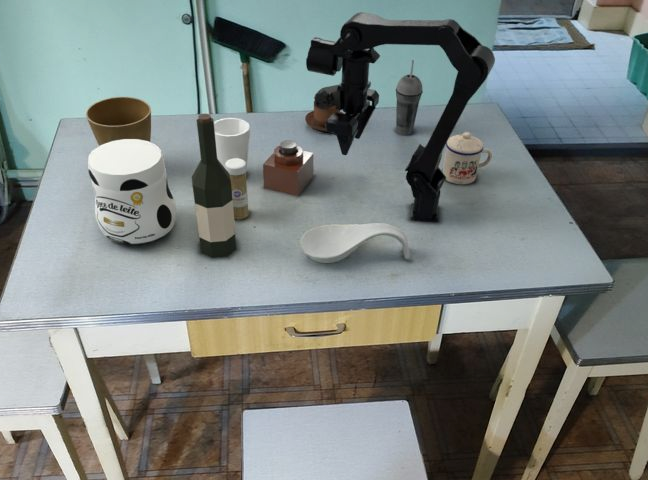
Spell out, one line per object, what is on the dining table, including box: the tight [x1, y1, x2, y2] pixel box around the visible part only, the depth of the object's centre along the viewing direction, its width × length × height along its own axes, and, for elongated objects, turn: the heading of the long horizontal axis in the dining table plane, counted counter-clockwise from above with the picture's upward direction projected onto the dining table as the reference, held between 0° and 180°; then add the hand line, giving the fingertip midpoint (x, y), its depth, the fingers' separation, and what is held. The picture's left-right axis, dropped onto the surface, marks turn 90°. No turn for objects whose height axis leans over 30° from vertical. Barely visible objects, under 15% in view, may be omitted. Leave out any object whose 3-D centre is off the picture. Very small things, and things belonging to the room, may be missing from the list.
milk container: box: [87, 139, 177, 246], centre depth 145 cm, size 17×17×18 cm
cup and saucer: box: [304, 103, 345, 132], centre depth 187 cm, size 12×12×6 cm
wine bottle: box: [191, 113, 238, 259], centre depth 136 cm, size 8×8×30 cm
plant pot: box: [85, 96, 152, 147], centre depth 163 cm, size 15×15×16 cm
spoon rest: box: [299, 222, 411, 264], centre depth 143 cm, size 24×12×7 cm, turn 93°
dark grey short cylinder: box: [279, 139, 298, 156], centre depth 160 cm, size 4×4×2 cm
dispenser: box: [262, 145, 314, 197], centre depth 164 cm, size 9×10×8 cm
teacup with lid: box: [442, 131, 493, 185], centre depth 167 cm, size 12×9×12 cm
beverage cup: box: [395, 59, 424, 136], centre depth 180 cm, size 7×7×20 cm
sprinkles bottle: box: [225, 158, 250, 220], centre depth 151 cm, size 5×5×14 cm
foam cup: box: [214, 117, 251, 173], centre depth 164 cm, size 10×9×13 cm
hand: (350, 146), depth 154 cm, fingers open, 8 cm apart
